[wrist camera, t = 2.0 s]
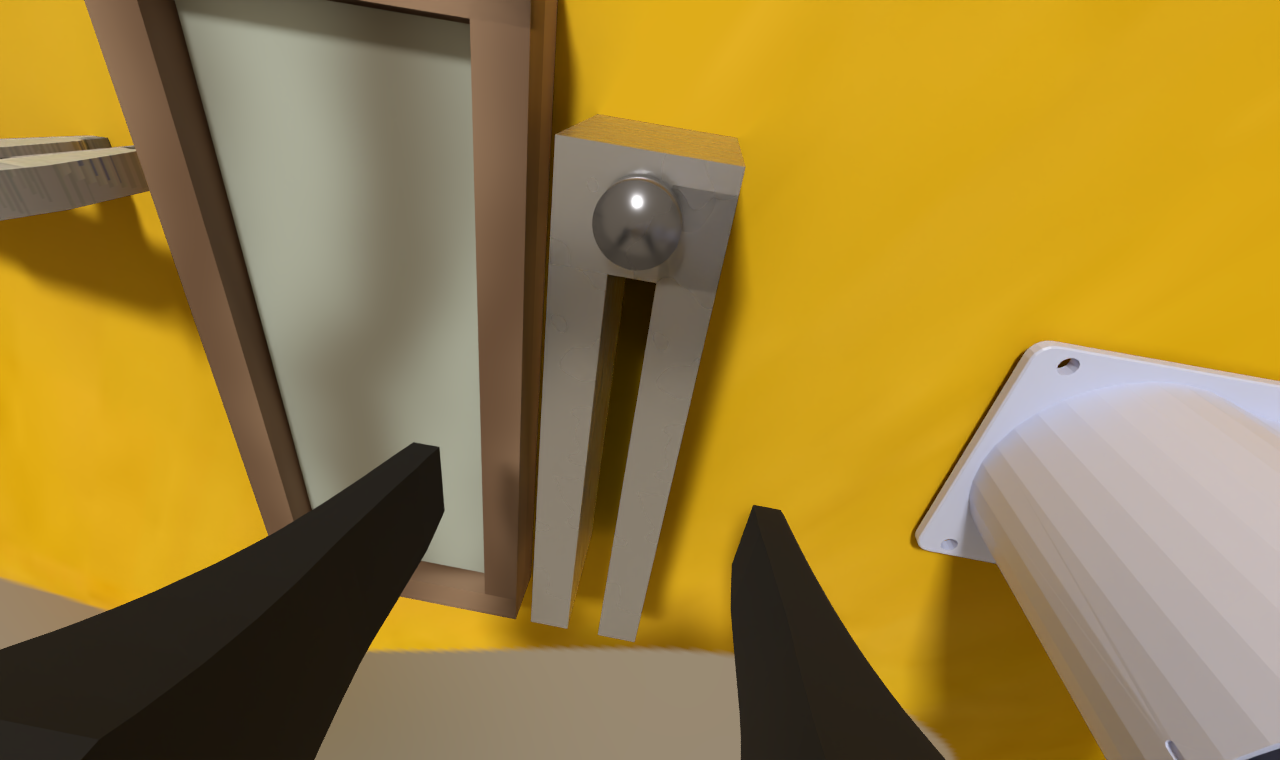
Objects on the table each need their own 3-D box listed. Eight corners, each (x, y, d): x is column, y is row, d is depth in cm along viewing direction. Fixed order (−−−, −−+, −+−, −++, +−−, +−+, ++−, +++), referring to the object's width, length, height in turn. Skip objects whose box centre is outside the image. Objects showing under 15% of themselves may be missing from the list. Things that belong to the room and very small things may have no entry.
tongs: (737, 138, 13) (747, 173, 9) (647, 544, 20) (631, 660, 16) (598, 114, 13) (546, 138, 9) (561, 527, 20) (525, 638, 16)
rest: (559, -34, 11) (531, -51, 10) (530, 576, 22) (515, 618, 20) (138, -103, 12) (39, -131, 10) (313, 533, 22) (281, 572, 21)
